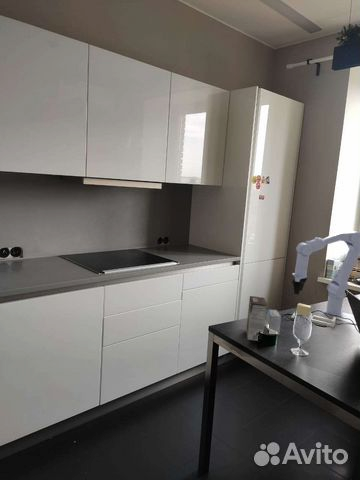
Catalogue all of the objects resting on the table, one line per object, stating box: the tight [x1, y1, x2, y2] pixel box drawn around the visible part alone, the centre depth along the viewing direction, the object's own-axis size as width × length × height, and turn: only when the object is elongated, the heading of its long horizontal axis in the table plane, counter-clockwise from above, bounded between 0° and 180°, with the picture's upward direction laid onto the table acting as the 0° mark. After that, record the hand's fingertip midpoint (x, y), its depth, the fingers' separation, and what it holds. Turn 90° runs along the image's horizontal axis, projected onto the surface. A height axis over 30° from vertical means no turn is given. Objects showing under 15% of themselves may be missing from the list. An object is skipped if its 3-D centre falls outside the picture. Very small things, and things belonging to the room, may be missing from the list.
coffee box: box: [245, 295, 268, 342], centre depth 151 cm, size 9×6×16 cm
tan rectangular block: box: [295, 302, 312, 317], centre depth 177 cm, size 3×6×6 cm, turn 60°
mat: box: [290, 311, 313, 319], centre depth 178 cm, size 9×9×1 cm
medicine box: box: [265, 309, 282, 336], centre depth 158 cm, size 8×4×9 cm, turn 179°
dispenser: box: [310, 314, 337, 328], centre depth 173 cm, size 7×11×3 cm, turn 60°
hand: (298, 292), depth 184 cm, fingers open, 7 cm apart
